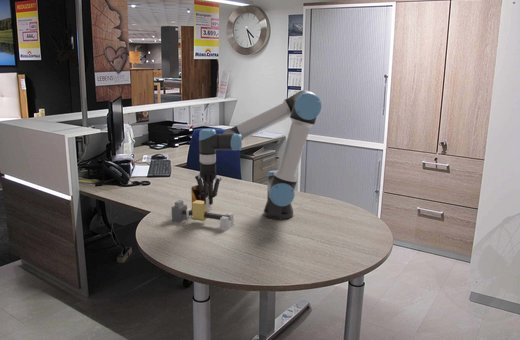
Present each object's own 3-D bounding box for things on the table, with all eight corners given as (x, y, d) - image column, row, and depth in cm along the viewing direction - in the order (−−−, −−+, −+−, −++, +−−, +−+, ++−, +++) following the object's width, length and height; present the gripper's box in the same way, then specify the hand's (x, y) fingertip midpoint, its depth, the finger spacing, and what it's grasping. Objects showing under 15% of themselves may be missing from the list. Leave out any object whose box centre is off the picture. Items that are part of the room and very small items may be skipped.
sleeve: (208, 218, 219) (207, 201, 217) (203, 221, 215) (203, 204, 213) (197, 216, 221) (196, 200, 219) (192, 219, 217) (192, 202, 215)
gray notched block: (233, 224, 216) (233, 213, 215) (226, 230, 209) (225, 218, 207) (228, 223, 217) (228, 212, 216) (220, 229, 210) (220, 218, 208)
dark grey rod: (229, 220, 214) (229, 213, 213) (226, 223, 211) (226, 216, 210) (178, 212, 224) (178, 206, 223) (174, 215, 221) (174, 208, 220)
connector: (187, 218, 224) (186, 200, 222) (180, 222, 219) (180, 203, 217) (178, 216, 226) (177, 199, 224) (172, 220, 221) (171, 202, 218)
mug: (199, 216, 228) (198, 193, 225) (189, 208, 240) (188, 186, 237) (216, 212, 233) (216, 190, 230) (206, 205, 244) (205, 184, 241)
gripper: (224, 162, 210) (224, 210, 216) (199, 159, 215) (200, 206, 220) (216, 165, 203) (217, 214, 209) (191, 162, 208) (192, 211, 214)
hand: (208, 210), depth 215 cm, fingers closed
